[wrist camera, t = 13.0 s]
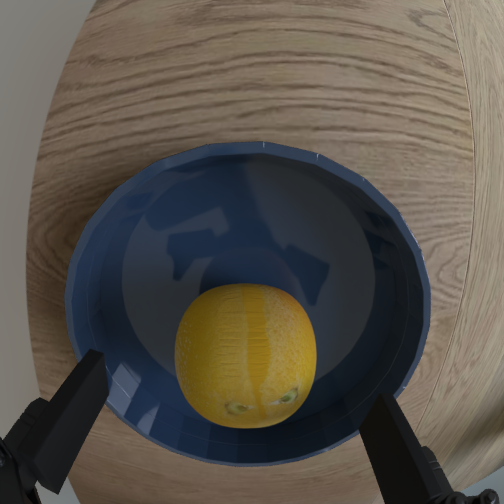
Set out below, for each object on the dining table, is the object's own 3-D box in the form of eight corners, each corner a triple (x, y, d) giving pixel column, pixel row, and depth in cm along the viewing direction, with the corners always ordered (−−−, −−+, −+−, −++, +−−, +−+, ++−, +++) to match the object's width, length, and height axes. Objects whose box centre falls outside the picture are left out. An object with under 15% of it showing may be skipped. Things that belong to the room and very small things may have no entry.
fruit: (313, 360, 21) (337, 439, 13) (211, 381, 21) (197, 461, 13) (290, 250, 18) (318, 303, 11) (171, 279, 19) (126, 342, 11)
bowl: (107, 395, 23) (87, 429, 18) (113, 132, 17) (75, 122, 12) (340, 431, 24) (351, 468, 19) (430, 197, 18) (473, 206, 13)
